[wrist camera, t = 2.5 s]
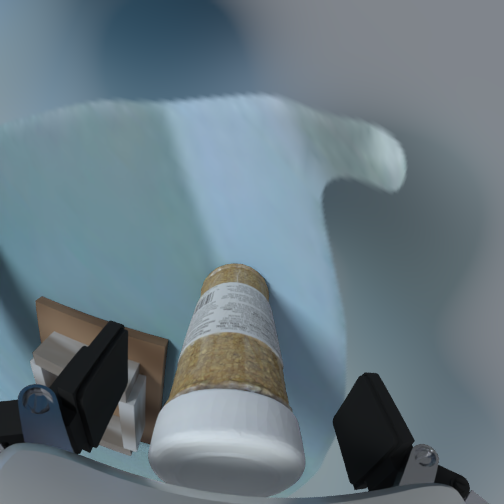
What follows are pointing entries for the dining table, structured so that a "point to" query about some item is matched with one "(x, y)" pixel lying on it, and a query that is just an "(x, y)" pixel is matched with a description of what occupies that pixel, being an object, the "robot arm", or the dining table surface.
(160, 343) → the socket stand
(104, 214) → the dining table surface
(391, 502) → the robot arm
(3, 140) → the dining table surface
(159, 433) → the sprinkles bottle
